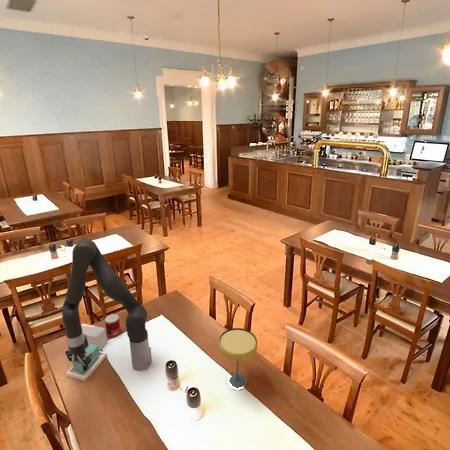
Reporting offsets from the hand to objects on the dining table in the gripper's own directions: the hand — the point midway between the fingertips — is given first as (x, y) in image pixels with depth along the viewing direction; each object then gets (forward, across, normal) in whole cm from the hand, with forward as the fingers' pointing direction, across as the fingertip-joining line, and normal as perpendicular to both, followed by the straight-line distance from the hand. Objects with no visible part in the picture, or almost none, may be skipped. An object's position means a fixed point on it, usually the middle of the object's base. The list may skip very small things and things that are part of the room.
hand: (81, 368), depth 157 cm
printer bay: (+3, +8, -19) cm, 21 cm away
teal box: (+1, 0, -5) cm, 5 cm away
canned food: (+3, +2, -30) cm, 31 cm away
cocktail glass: (+3, -77, -17) cm, 79 cm away
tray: (+3, 0, -4) cm, 5 cm away
